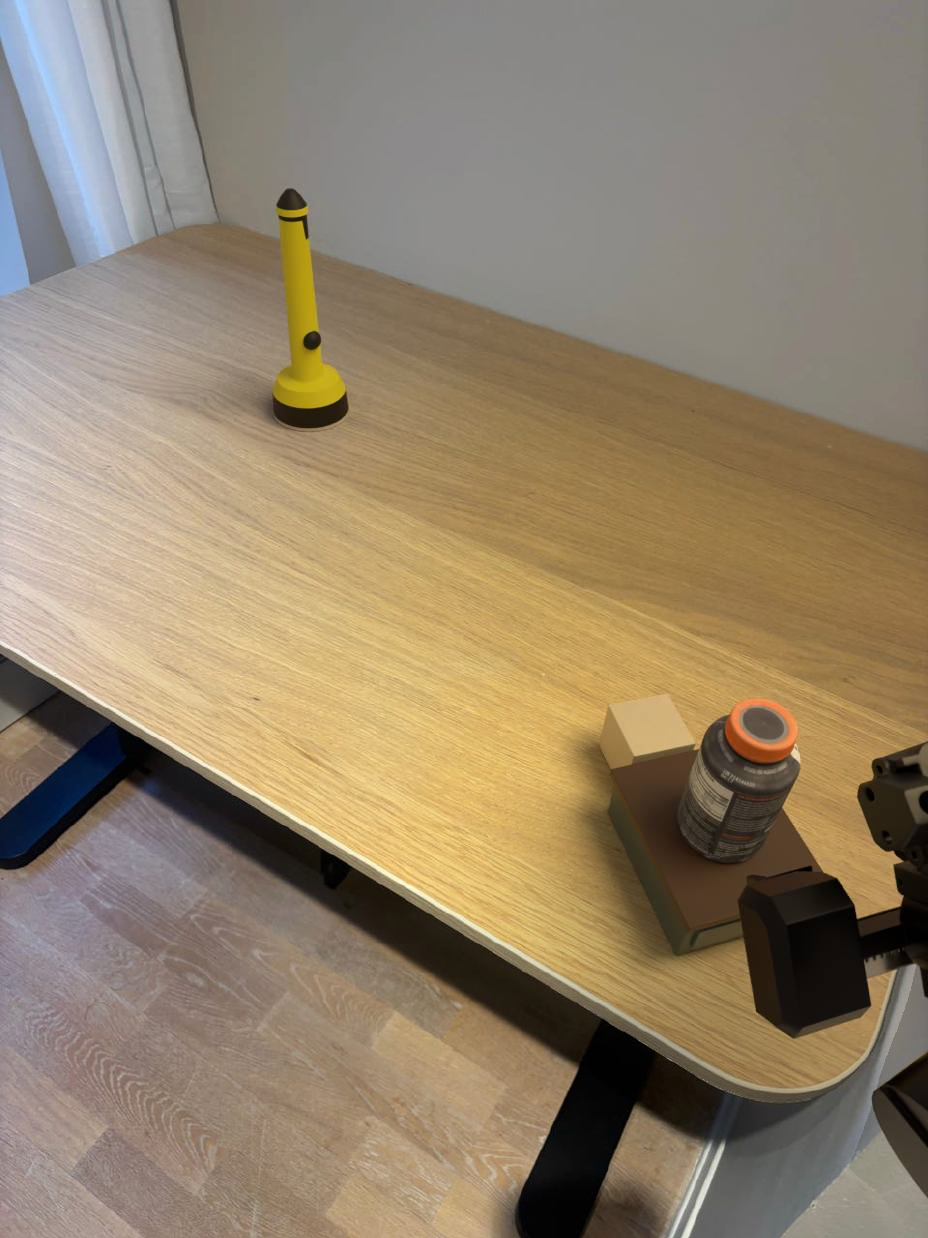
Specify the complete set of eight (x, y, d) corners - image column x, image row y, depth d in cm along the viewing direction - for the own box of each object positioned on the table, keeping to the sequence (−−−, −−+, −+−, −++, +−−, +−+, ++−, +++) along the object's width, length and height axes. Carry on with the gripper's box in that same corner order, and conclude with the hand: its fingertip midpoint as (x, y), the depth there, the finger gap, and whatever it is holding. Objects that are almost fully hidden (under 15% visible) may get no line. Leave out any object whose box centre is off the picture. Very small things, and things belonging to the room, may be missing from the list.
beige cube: (696, 743, 64) (667, 692, 68) (634, 756, 63) (607, 704, 67) (681, 782, 68) (655, 732, 71) (622, 795, 67) (598, 744, 70)
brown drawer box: (809, 924, 60) (834, 888, 56) (672, 963, 57) (689, 928, 54) (722, 778, 68) (739, 739, 65) (599, 807, 66) (610, 768, 62)
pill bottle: (767, 804, 61) (820, 699, 53) (759, 877, 57) (815, 775, 49) (682, 779, 62) (721, 673, 54) (668, 849, 58) (708, 745, 50)
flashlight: (228, 183, 87) (270, 211, 82) (307, 168, 91) (352, 194, 86) (259, 405, 104) (296, 439, 99) (325, 384, 108) (363, 416, 103)
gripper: (1242, 709, 35) (942, 687, 50) (837, 814, 30) (644, 755, 46) (1285, 984, 35) (973, 878, 50) (888, 1126, 31) (680, 963, 46)
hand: (824, 864), depth 48 cm, fingers open, 9 cm apart
